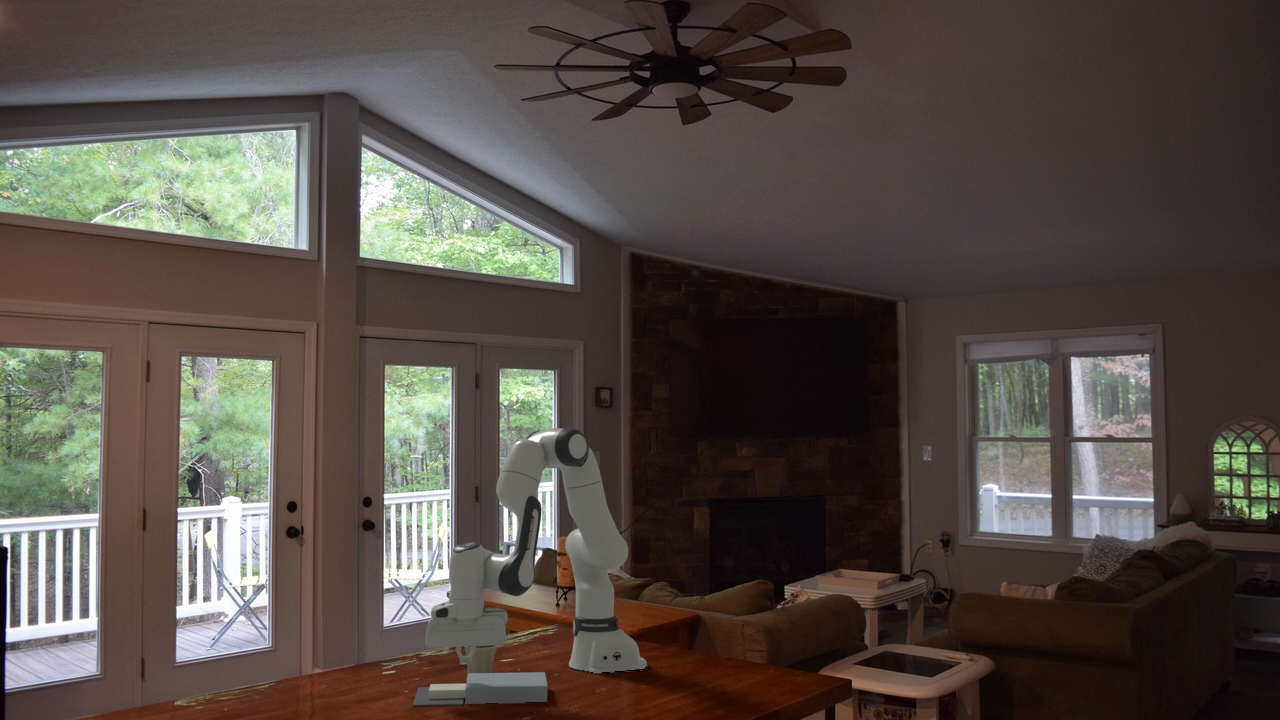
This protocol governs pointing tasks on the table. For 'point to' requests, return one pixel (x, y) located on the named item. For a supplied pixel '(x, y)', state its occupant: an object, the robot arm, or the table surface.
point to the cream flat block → (447, 691)
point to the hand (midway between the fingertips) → (465, 663)
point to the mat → (424, 700)
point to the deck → (506, 688)
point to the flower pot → (481, 659)
